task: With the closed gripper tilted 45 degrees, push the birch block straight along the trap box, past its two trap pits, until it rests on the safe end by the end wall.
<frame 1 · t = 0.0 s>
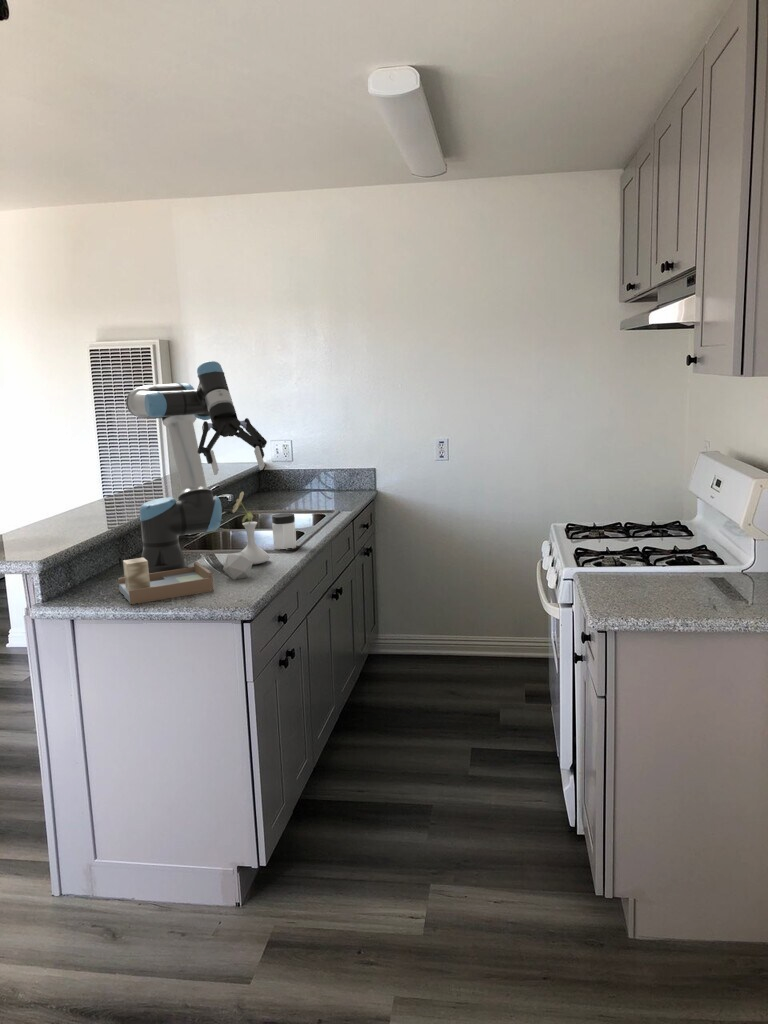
hand: (239, 470, 233), 36 cm above the counter, tool tilted 35°, fingers open, 13 cm apart
die: (239, 578, 258), on the counter
trap box: (166, 590, 246), on the counter
block: (137, 587, 242), point 2 cm above the counter, touching trap box
jar: (285, 547, 300), on the counter
flower in vase: (251, 564, 276), on the counter
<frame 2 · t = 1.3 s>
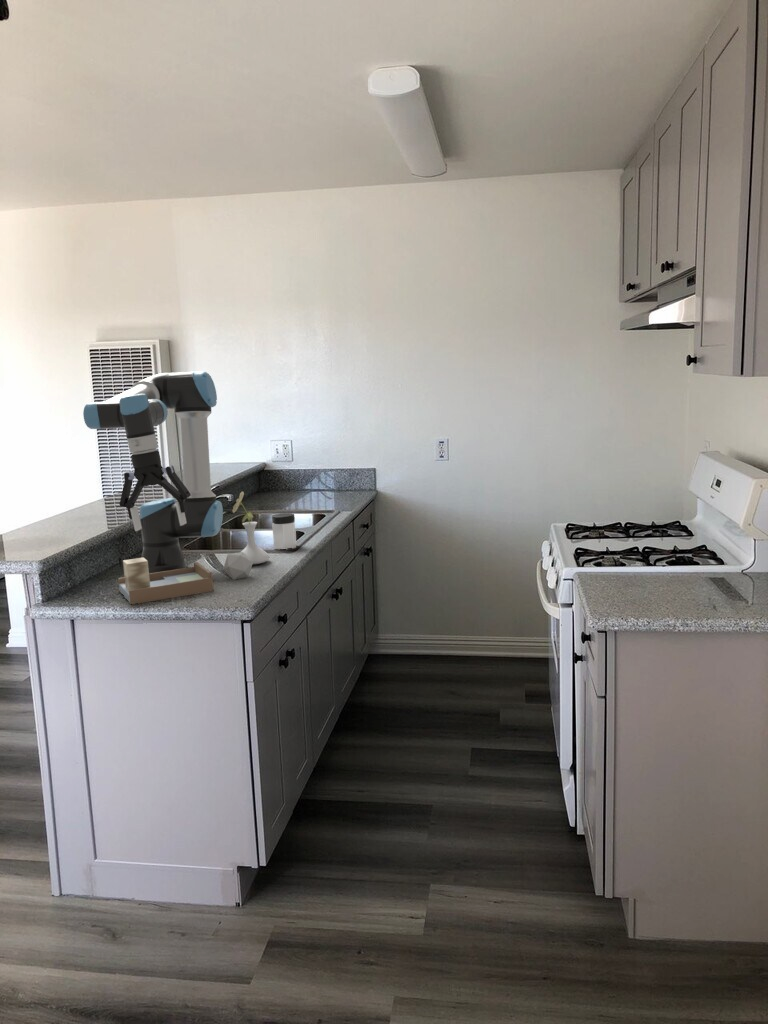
hand: (160, 527, 227), 22 cm above the counter, tool pointing down, fingers open, 13 cm apart
nothing on the counter moved.
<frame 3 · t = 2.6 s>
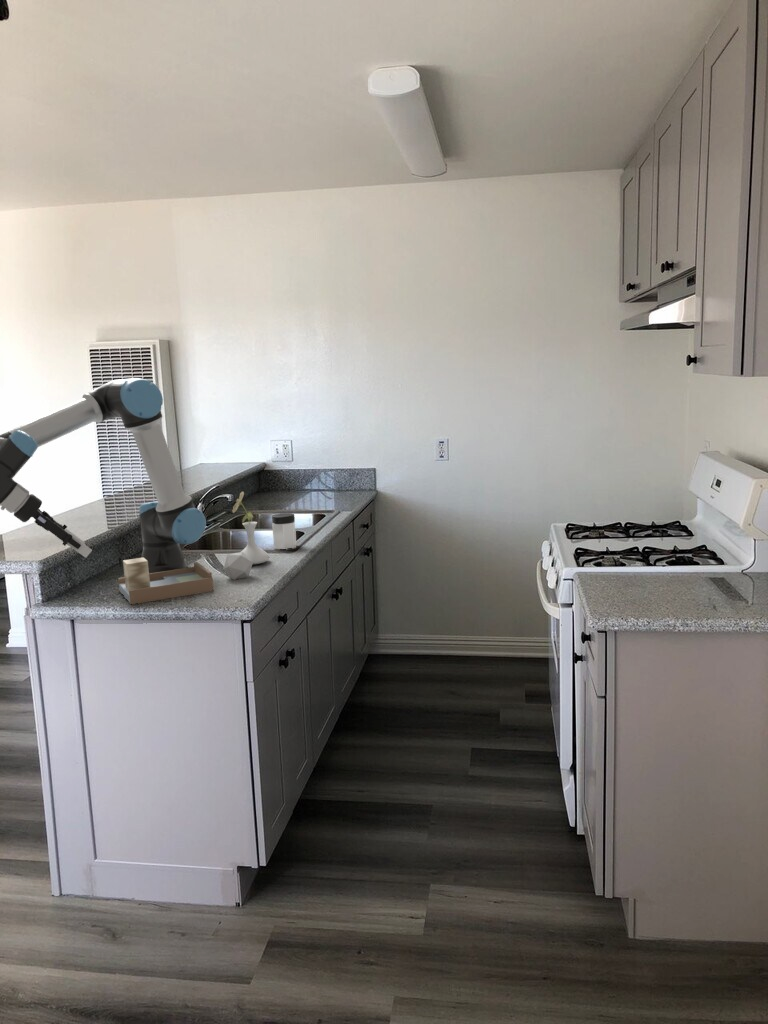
hand: (85, 549, 233), 16 cm above the counter, tool tilted 45°, fingers open, 13 cm apart
nothing on the counter moved.
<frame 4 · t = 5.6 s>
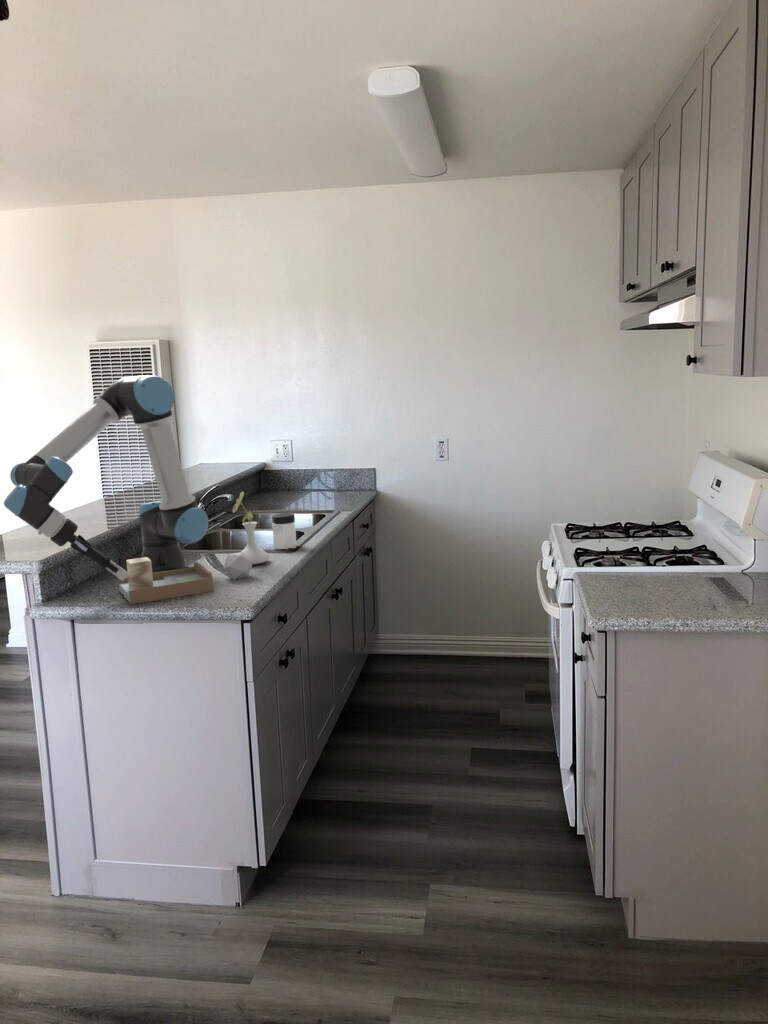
hand: (125, 576, 239), 6 cm above the counter, tool tilted 45°, fingers closed
block: (141, 586, 242), point 3 cm above the counter, touching gripper
everything else where it was.
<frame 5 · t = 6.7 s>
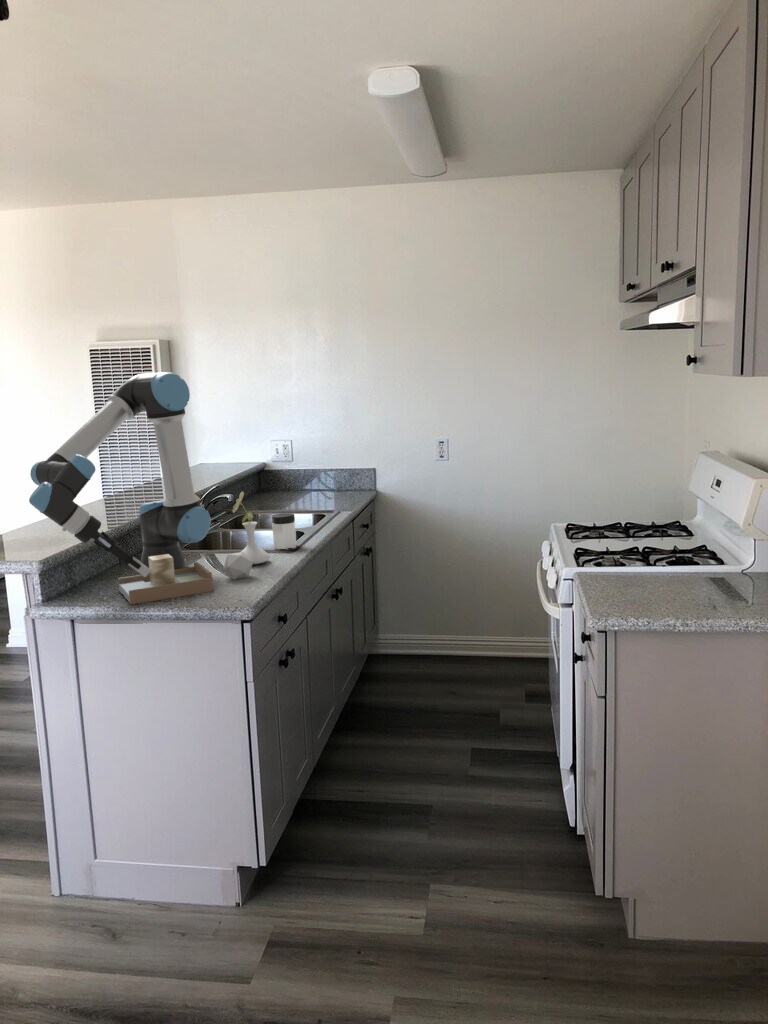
hand: (147, 573, 242), 6 cm above the counter, tool tilted 45°, fingers closed
block: (162, 583, 245), point 3 cm above the counter, touching gripper
everything else where it was.
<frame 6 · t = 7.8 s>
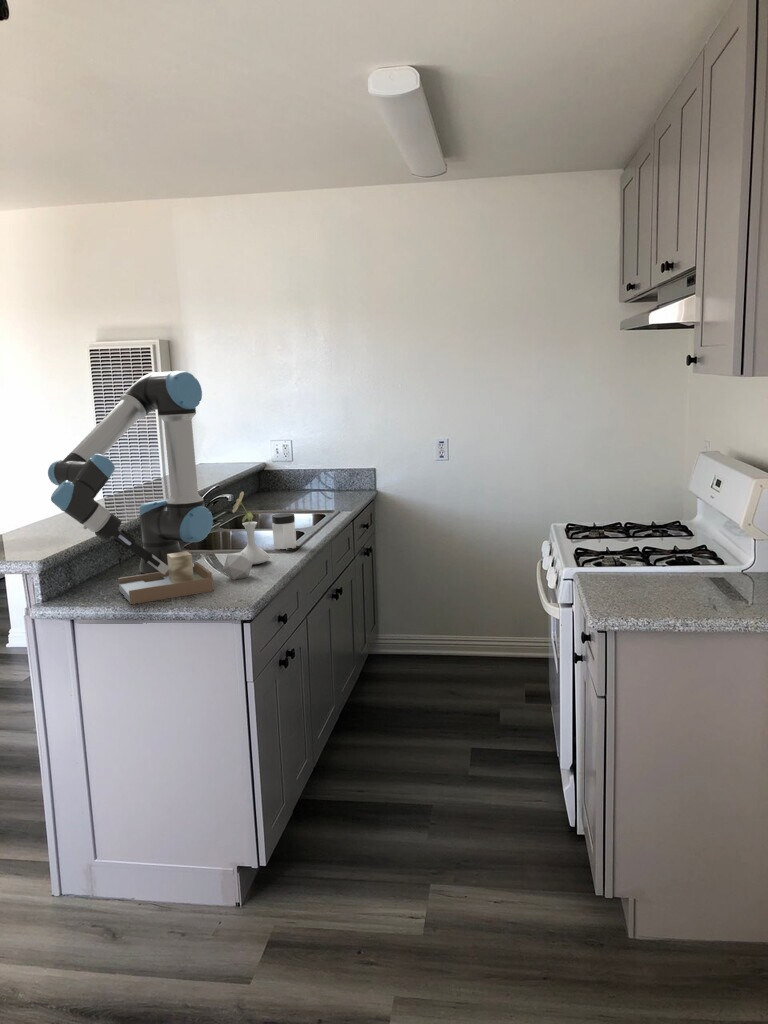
hand: (166, 570, 245), 6 cm above the counter, tool tilted 45°, fingers closed
block: (181, 580, 247), point 3 cm above the counter, touching gripper, trap box
everything else where it was.
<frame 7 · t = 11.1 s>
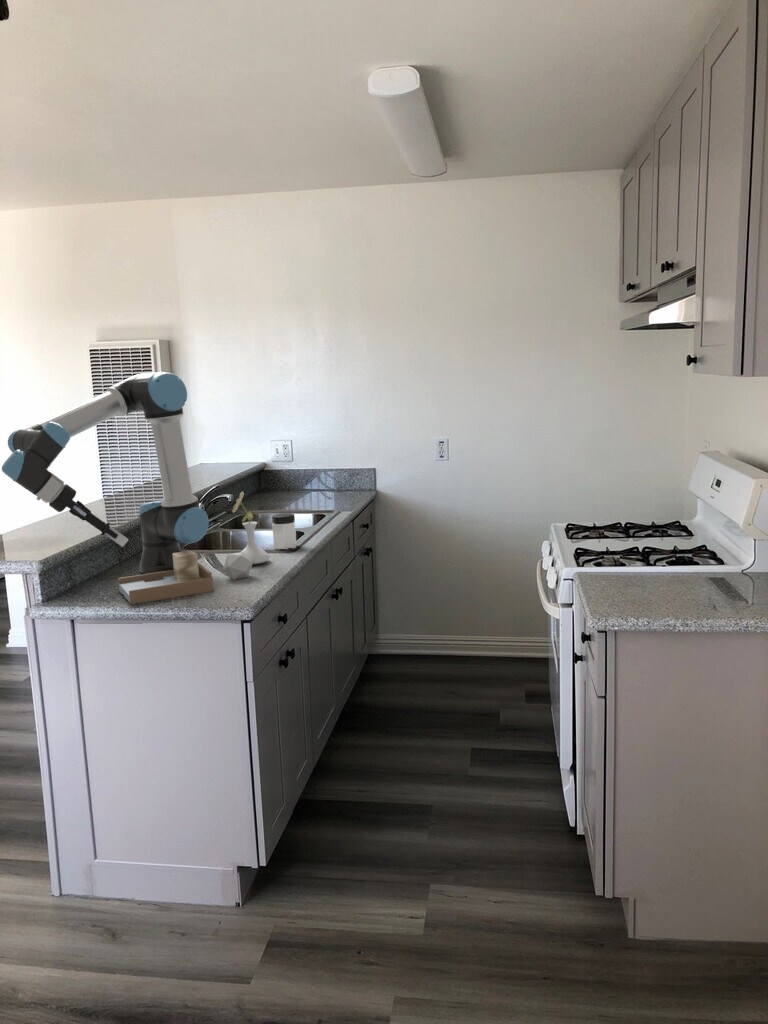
hand: (125, 542, 238), 16 cm above the counter, tool tilted 45°, fingers closed
block: (187, 579, 248), point 2 cm above the counter, touching trap box
everything else where it was.
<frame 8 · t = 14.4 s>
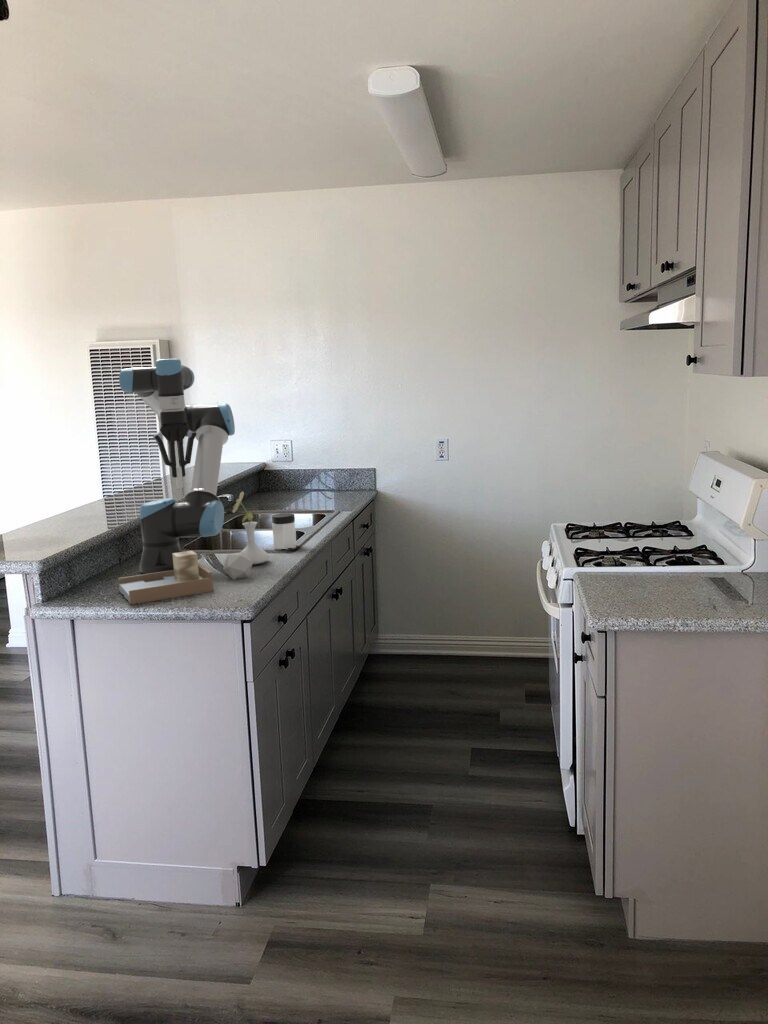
hand: (179, 487, 252), 29 cm above the counter, tool pointing down, fingers closed
nothing on the counter moved.
at the end: block inside the target area on the trap box (0.4 cm from its centre), point 2.5 cm above the trap box's base; block tilted 0° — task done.
